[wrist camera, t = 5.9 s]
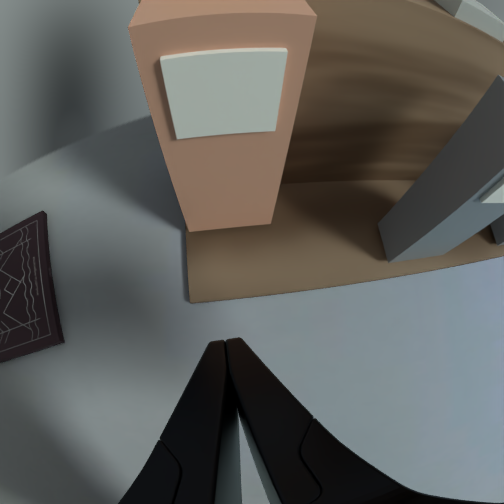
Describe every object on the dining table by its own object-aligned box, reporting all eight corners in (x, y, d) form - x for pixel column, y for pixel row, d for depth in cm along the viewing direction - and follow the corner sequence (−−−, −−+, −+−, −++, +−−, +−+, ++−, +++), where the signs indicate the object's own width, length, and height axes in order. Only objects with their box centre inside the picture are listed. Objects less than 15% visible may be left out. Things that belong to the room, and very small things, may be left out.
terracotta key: (271, 227, 17) (319, 19, 5) (189, 235, 16) (126, 30, 5) (264, 185, 17) (293, -14, 6) (187, 193, 17) (143, -5, 6)
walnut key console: (521, 251, 18) (630, 176, 5) (190, 303, 16) (39, 79, 2) (484, 158, 21) (562, 65, 8) (184, 157, 19) (147, -52, 6)
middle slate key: (443, 257, 16) (580, 155, 5) (388, 266, 16) (542, 137, 5) (432, 219, 17) (549, 103, 6) (377, 223, 17) (498, 74, 6)
